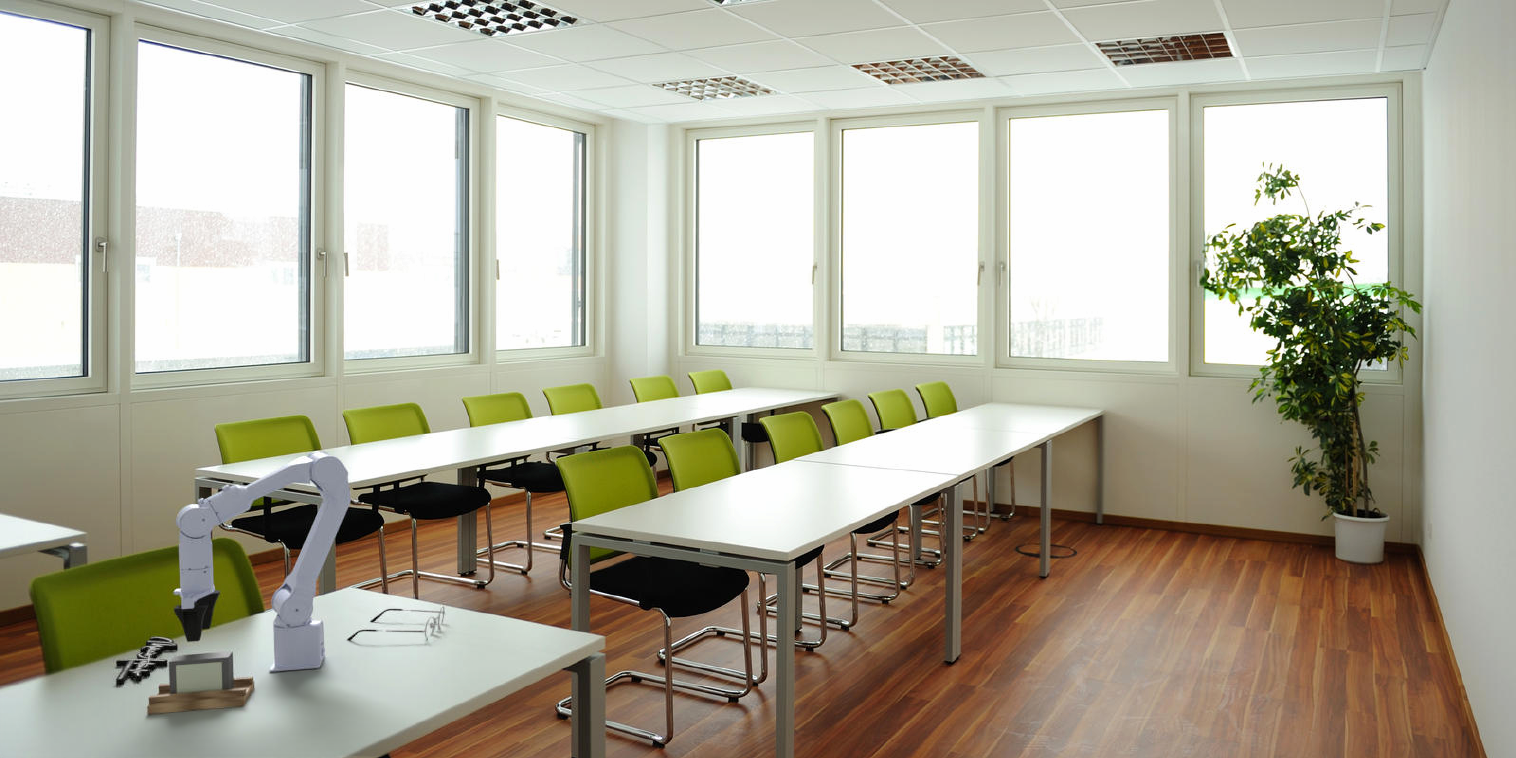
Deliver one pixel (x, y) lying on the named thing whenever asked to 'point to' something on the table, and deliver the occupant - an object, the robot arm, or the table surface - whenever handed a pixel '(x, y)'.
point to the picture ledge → (201, 698)
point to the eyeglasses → (407, 630)
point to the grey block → (201, 672)
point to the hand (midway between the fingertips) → (198, 634)
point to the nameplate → (145, 660)
